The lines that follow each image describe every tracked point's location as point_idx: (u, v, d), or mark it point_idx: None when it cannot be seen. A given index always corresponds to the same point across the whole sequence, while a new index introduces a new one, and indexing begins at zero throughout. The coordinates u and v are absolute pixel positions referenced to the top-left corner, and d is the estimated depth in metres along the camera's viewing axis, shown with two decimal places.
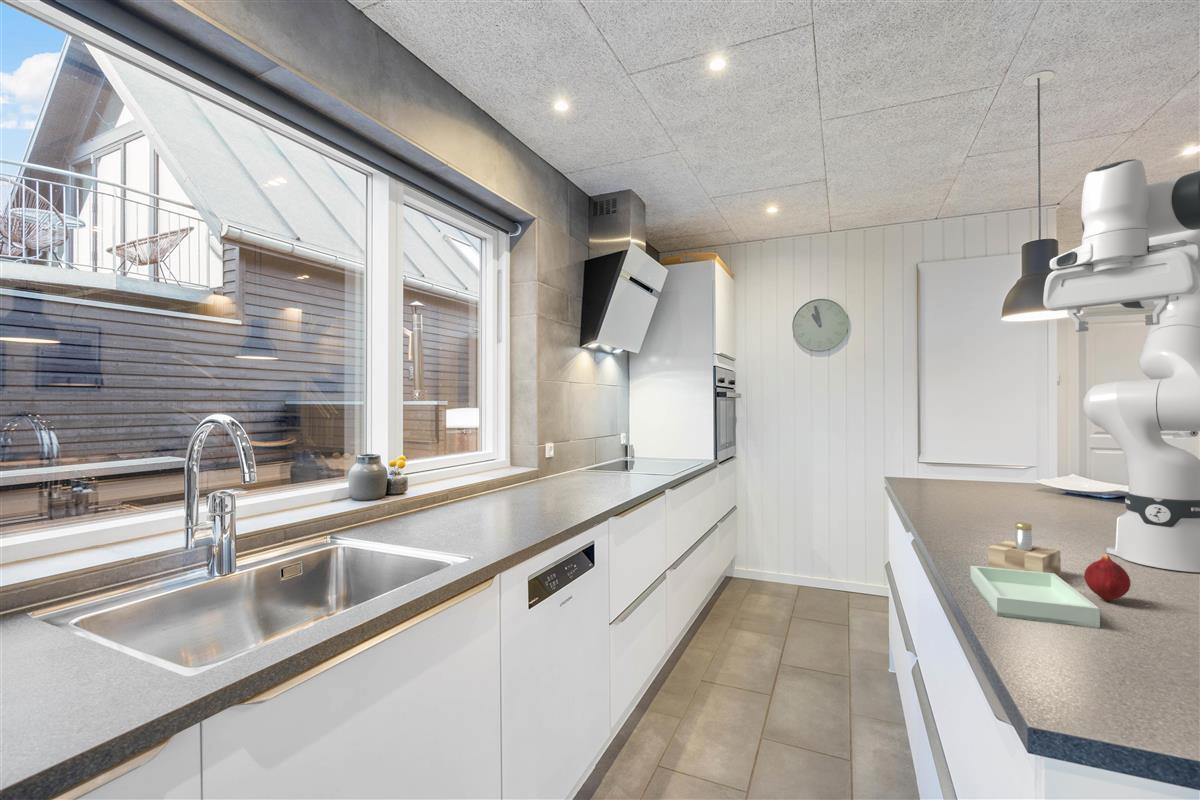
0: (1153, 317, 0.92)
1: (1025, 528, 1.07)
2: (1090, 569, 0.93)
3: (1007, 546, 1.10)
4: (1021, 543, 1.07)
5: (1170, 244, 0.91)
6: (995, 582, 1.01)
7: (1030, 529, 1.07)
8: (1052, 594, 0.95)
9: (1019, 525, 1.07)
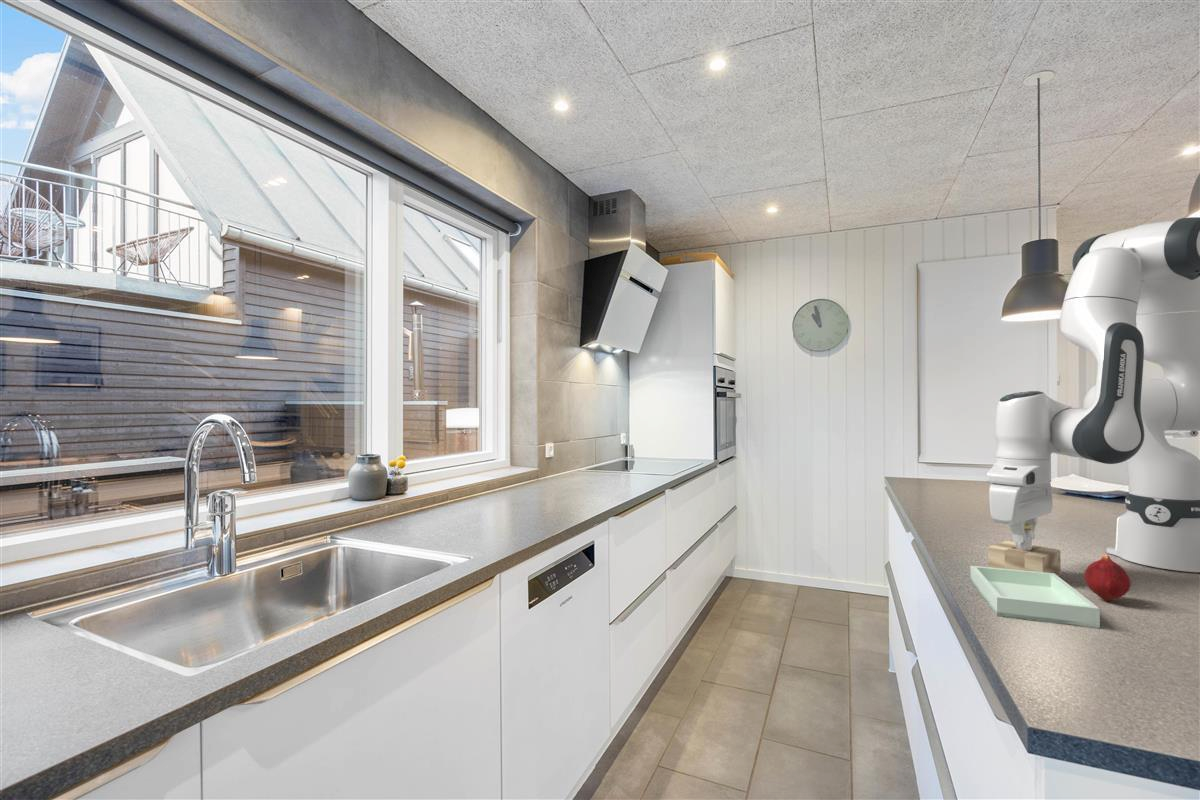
0: (1033, 533, 1.08)
1: (1025, 528, 1.07)
2: (1090, 569, 0.93)
3: (1007, 546, 1.10)
4: (1021, 543, 1.07)
5: None
6: (995, 582, 1.01)
7: (1030, 529, 1.07)
8: (1052, 594, 0.95)
9: None
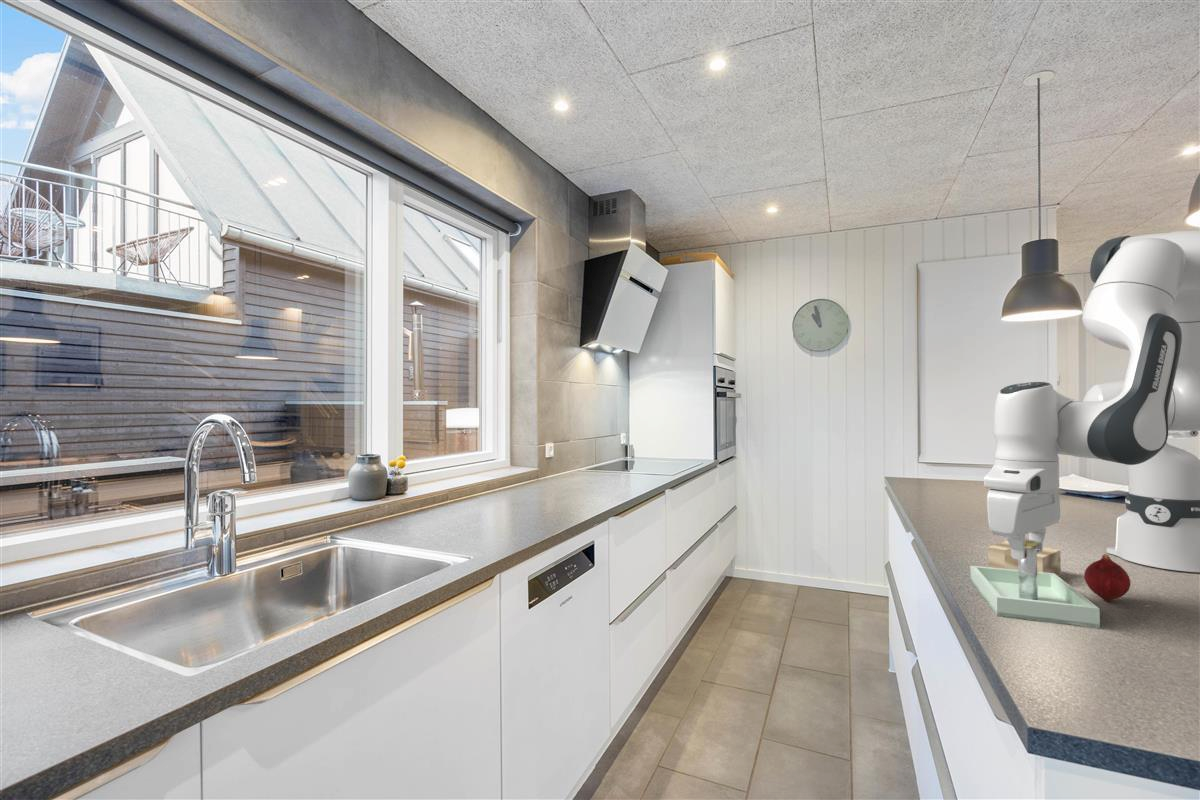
0: (1041, 546, 0.94)
1: (1029, 546, 0.92)
2: (1090, 569, 0.93)
3: (1007, 546, 1.10)
4: (1025, 564, 0.92)
5: None
6: (995, 582, 1.01)
7: (1035, 547, 0.92)
8: (1052, 594, 0.95)
9: None
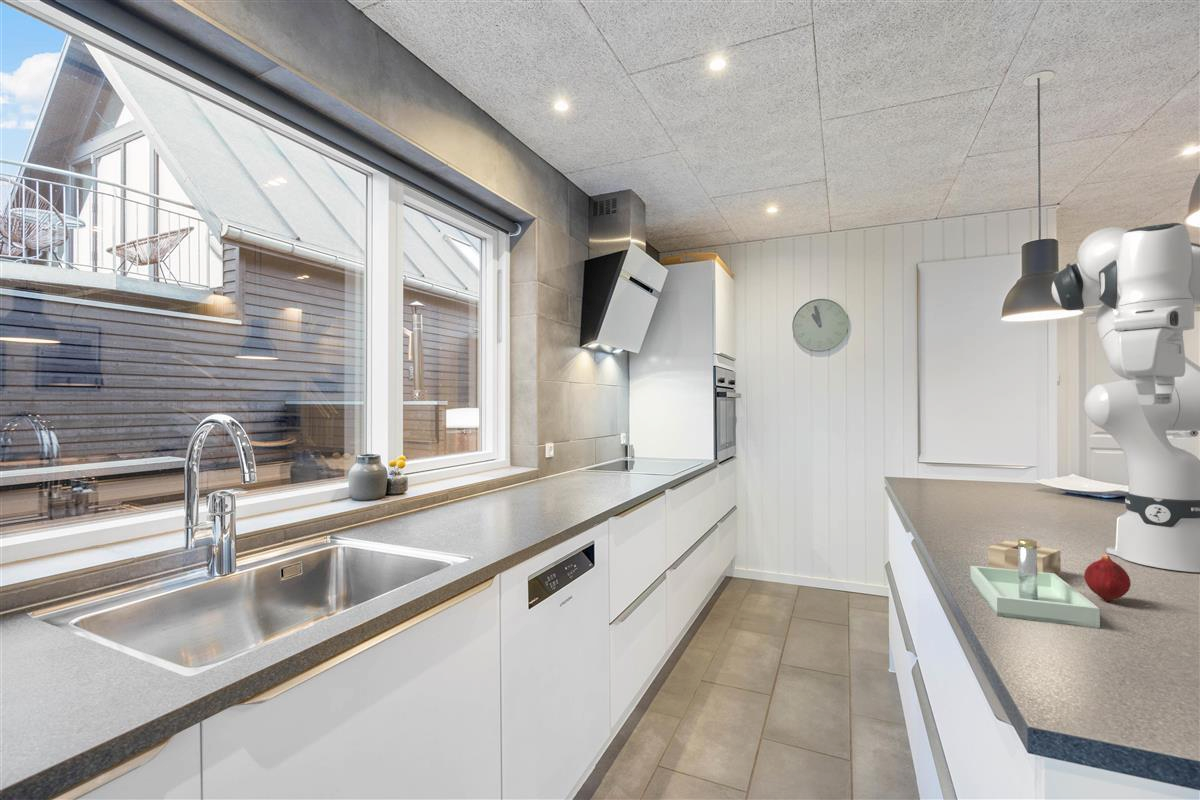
0: (1171, 396, 0.91)
1: (1029, 546, 0.92)
2: (1090, 569, 0.93)
3: (1007, 546, 1.10)
4: (1025, 564, 0.92)
5: None
6: (995, 582, 1.01)
7: (1035, 547, 0.92)
8: (1052, 594, 0.95)
9: (1022, 542, 0.92)
